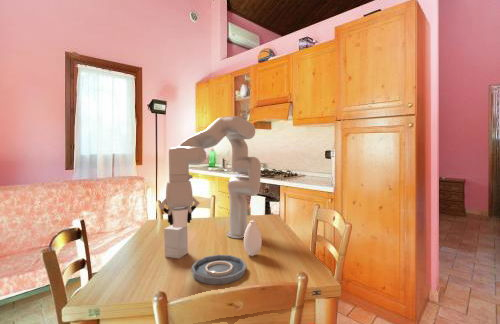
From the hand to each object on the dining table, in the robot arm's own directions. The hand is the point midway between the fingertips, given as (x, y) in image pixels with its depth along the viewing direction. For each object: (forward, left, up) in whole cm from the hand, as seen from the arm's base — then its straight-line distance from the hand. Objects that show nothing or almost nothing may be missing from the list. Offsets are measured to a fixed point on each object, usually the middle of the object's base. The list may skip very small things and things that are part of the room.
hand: (179, 222), depth 107 cm
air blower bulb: (-31, +2, -18) cm, 36 cm away
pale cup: (0, 0, -1) cm, 1 cm away
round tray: (-13, +11, -17) cm, 24 cm away
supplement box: (0, -11, -18) cm, 21 cm away
